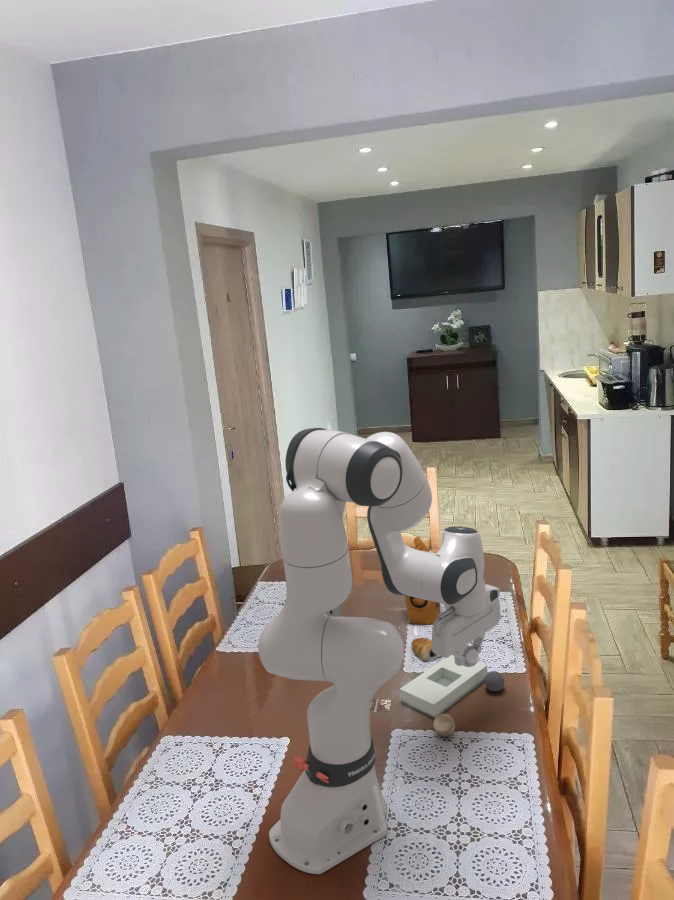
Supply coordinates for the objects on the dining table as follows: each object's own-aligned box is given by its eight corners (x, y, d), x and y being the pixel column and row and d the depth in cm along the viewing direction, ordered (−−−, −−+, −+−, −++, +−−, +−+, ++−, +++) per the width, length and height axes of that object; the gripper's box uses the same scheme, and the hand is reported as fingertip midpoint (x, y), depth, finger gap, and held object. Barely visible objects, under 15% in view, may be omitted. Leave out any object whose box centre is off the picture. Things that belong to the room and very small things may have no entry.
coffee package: (402, 625, 201) (396, 552, 196) (408, 605, 213) (403, 535, 208) (438, 626, 199) (433, 552, 194) (442, 605, 210) (437, 535, 205)
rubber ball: (497, 697, 164) (496, 680, 163) (480, 690, 167) (479, 673, 166) (508, 688, 167) (507, 671, 166) (492, 682, 170) (491, 665, 169)
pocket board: (435, 718, 159) (434, 704, 158) (400, 702, 166) (399, 688, 165) (487, 678, 172) (486, 665, 171) (453, 665, 179) (453, 652, 178)
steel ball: (471, 673, 153) (470, 654, 152) (454, 666, 157) (452, 647, 156) (483, 664, 156) (482, 645, 155) (466, 658, 160) (465, 639, 159)
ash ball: (446, 743, 150) (445, 724, 149) (429, 735, 153) (428, 716, 152) (459, 733, 153) (458, 714, 152) (442, 725, 156) (441, 706, 155)
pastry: (405, 649, 189) (404, 635, 188) (426, 641, 192) (425, 628, 191) (425, 664, 181) (424, 650, 180) (447, 656, 184) (446, 642, 183)
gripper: (446, 621, 144) (450, 683, 147) (504, 586, 158) (507, 644, 160) (422, 613, 149) (426, 674, 151) (480, 580, 162) (483, 636, 165)
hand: (468, 658), depth 156 cm, fingers closed on steel ball, 4 cm apart
